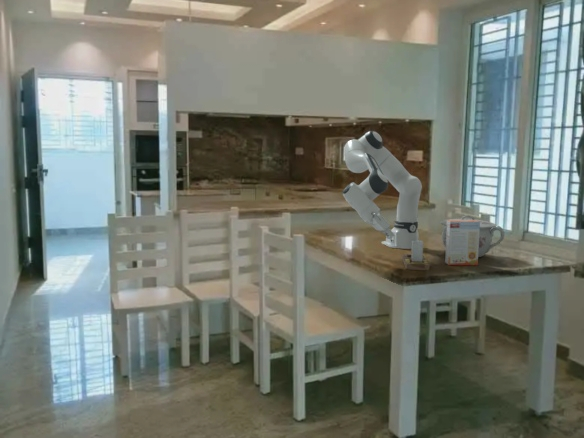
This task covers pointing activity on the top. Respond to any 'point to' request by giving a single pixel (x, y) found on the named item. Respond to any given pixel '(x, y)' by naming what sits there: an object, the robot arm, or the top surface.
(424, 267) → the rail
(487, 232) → the chamber pot
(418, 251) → the peg
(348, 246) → the top surface
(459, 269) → the top surface
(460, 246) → the cracker box
